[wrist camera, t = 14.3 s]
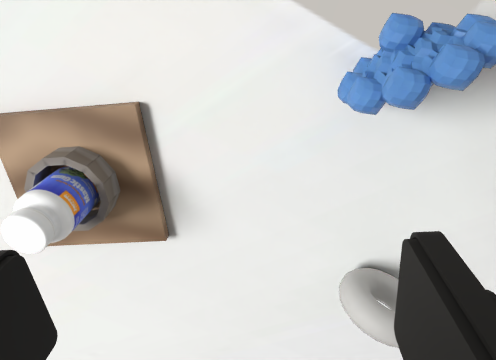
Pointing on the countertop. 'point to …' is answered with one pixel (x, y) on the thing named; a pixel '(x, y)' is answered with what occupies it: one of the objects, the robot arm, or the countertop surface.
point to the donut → (371, 302)
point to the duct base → (104, 140)
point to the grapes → (419, 62)
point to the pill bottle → (50, 210)
